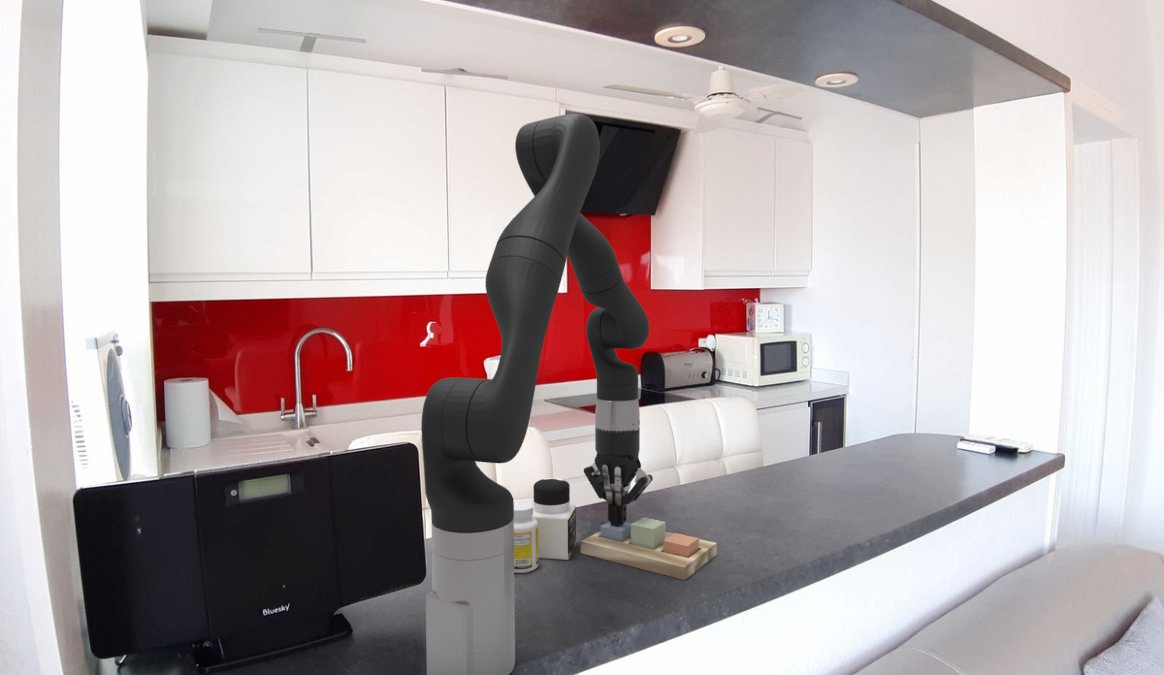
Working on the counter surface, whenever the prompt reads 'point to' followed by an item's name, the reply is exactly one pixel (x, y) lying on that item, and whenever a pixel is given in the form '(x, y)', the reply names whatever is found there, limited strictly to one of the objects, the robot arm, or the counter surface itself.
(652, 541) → the sage button
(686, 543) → the terracotta button
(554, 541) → the medicine bottle
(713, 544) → the board
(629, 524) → the slate button
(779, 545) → the counter surface
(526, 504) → the supplement bottle
